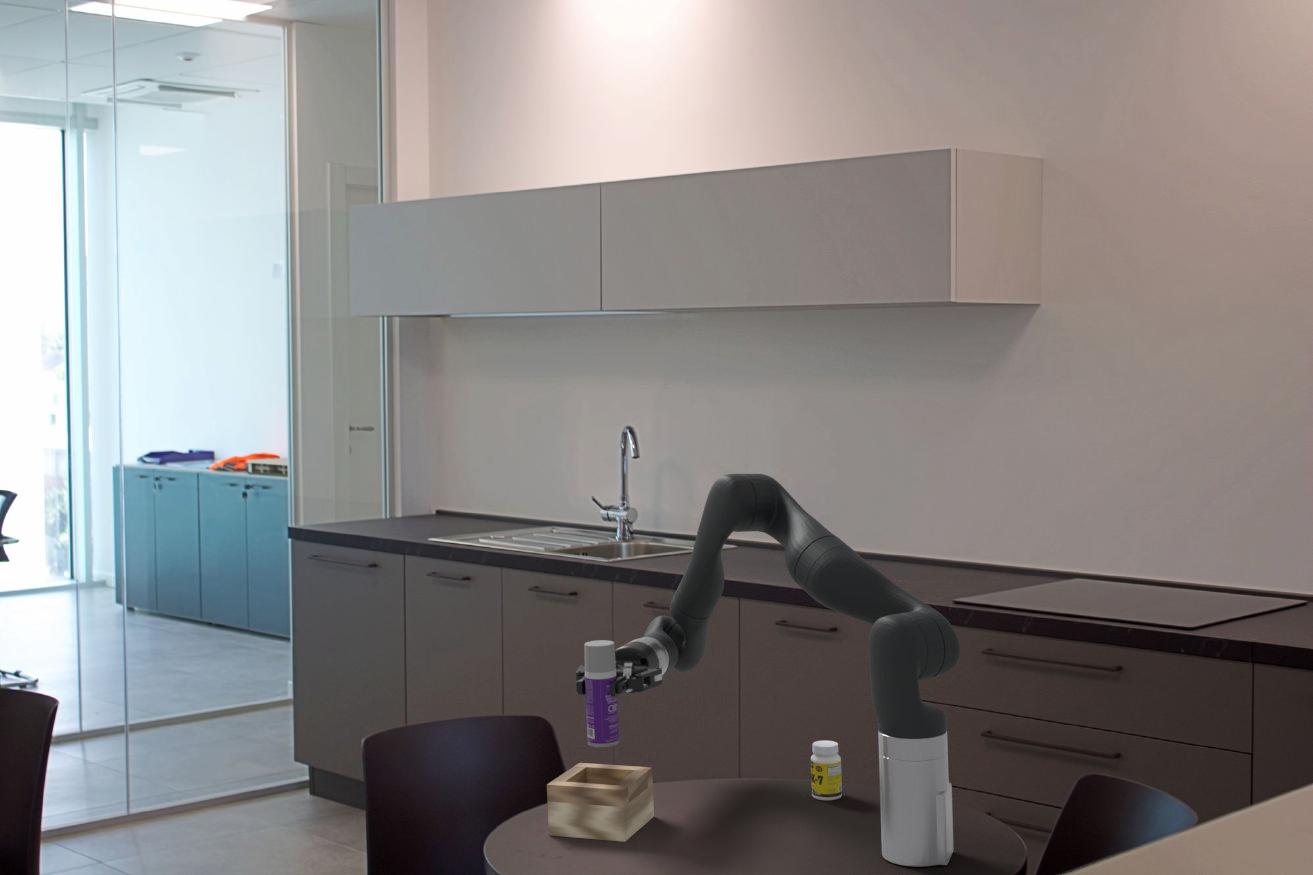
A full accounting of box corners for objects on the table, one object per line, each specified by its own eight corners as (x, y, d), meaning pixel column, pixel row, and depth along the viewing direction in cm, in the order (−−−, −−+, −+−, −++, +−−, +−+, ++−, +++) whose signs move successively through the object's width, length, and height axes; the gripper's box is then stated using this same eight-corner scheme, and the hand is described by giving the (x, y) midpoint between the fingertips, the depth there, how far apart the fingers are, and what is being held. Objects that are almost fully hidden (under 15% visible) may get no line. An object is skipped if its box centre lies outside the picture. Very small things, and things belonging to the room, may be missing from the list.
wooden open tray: (653, 816, 210) (652, 767, 209) (625, 841, 198) (623, 789, 198) (581, 810, 214) (579, 762, 214) (548, 835, 203) (546, 784, 202)
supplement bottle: (806, 794, 218) (804, 742, 218) (831, 790, 220) (829, 737, 220) (822, 802, 214) (820, 748, 213) (848, 797, 216) (846, 744, 215)
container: (615, 747, 203) (610, 646, 202) (584, 746, 204) (579, 646, 203) (622, 738, 208) (618, 639, 207) (592, 738, 209) (588, 639, 208)
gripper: (596, 639, 222) (551, 661, 206) (679, 642, 217) (640, 665, 201) (597, 685, 222) (553, 711, 207) (681, 689, 217) (642, 716, 201)
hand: (596, 688), depth 204 cm, fingers closed on container, 4 cm apart
